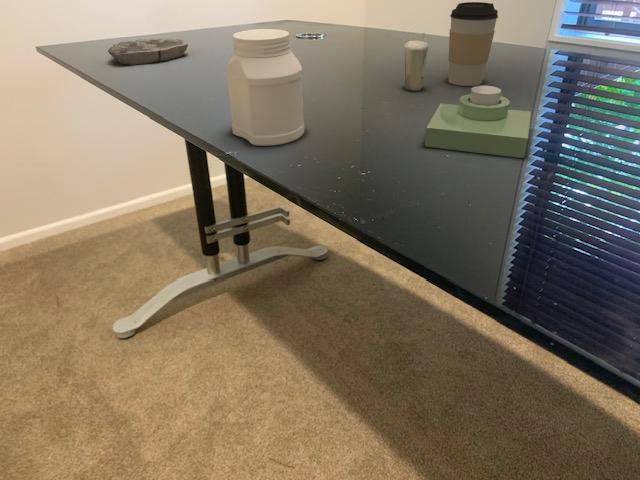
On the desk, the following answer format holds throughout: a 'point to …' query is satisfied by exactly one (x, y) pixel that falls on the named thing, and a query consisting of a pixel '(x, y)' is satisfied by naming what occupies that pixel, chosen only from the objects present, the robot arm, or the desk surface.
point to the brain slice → (147, 50)
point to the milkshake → (415, 63)
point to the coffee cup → (470, 42)
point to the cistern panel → (479, 128)
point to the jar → (265, 88)
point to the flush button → (485, 95)
